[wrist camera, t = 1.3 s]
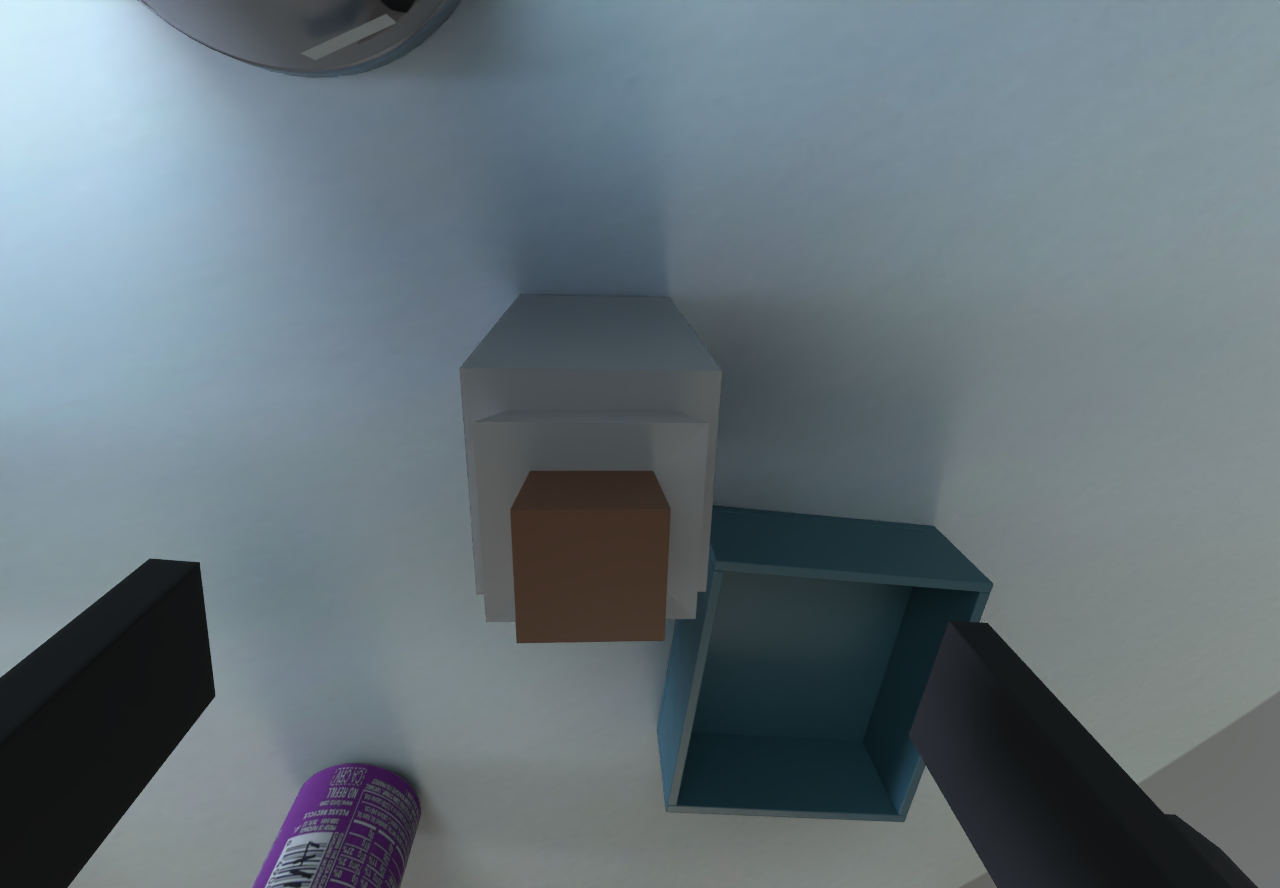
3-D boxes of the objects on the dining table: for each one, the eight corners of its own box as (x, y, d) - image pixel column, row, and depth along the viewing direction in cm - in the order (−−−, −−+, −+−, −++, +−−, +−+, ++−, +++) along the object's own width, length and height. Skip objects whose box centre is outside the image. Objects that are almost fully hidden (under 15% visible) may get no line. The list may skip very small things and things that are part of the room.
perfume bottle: (668, 297, 29) (763, 428, 13) (663, 435, 32) (736, 701, 15) (519, 294, 29) (411, 427, 12) (525, 435, 31) (441, 708, 15)
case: (697, 503, 33) (715, 560, 28) (934, 525, 35) (994, 583, 29) (656, 729, 38) (665, 812, 33) (864, 740, 40) (904, 822, 35)
